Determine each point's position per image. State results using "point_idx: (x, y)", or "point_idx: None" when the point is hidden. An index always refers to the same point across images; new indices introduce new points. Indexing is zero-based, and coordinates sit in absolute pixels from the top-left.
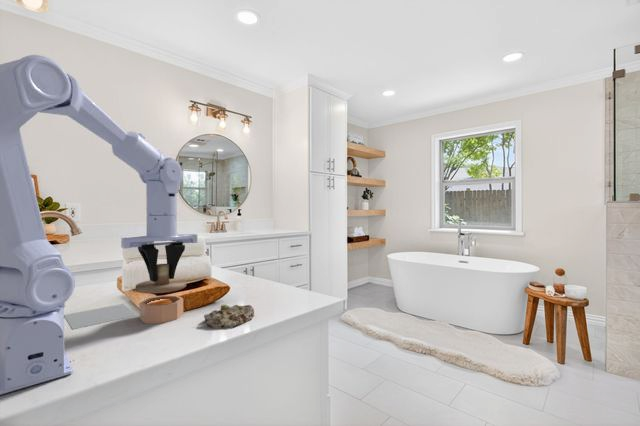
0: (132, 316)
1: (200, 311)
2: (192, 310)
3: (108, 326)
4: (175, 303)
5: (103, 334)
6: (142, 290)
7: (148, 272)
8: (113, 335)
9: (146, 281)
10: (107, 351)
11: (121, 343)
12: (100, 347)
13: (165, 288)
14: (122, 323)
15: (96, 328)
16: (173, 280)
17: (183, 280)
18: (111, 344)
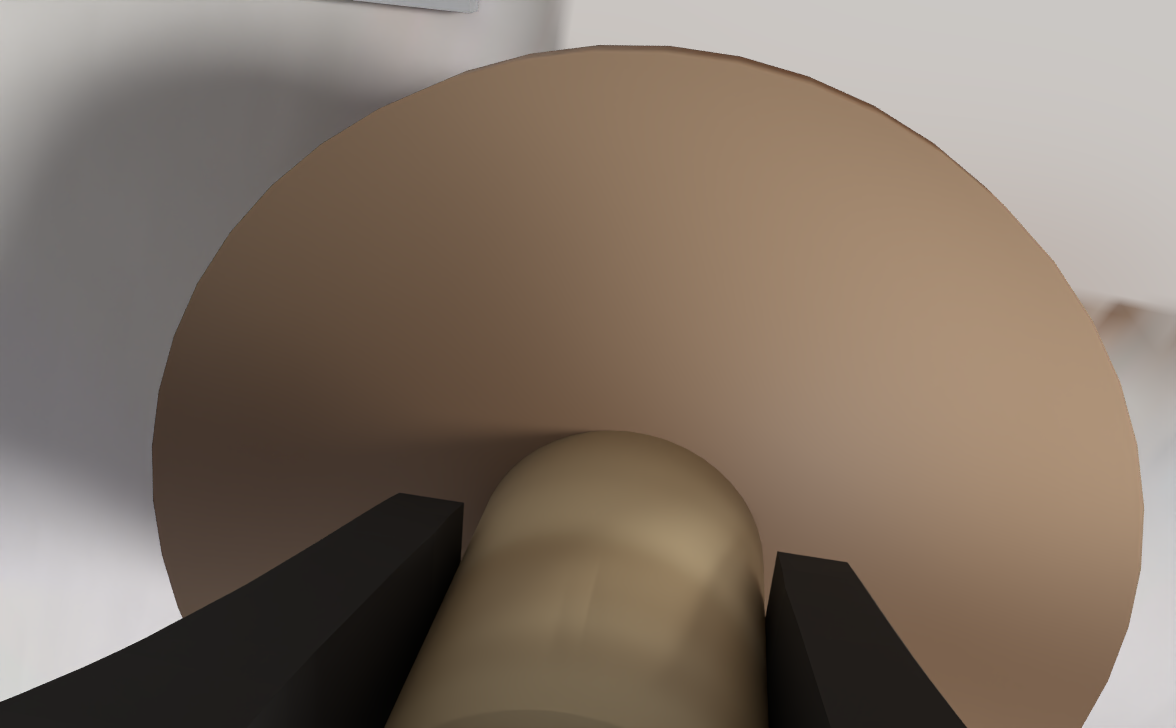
0: (410, 6)
1: (1157, 455)
2: (1127, 332)
3: (135, 69)
4: None
5: (60, 288)
6: None
7: (298, 556)
8: (130, 393)
9: (475, 99)
10: (41, 677)
11: (150, 621)
12: (8, 567)
13: None
14: (278, 93)
15: (21, 28)
16: (946, 490)
17: (1088, 643)
18: (84, 578)
